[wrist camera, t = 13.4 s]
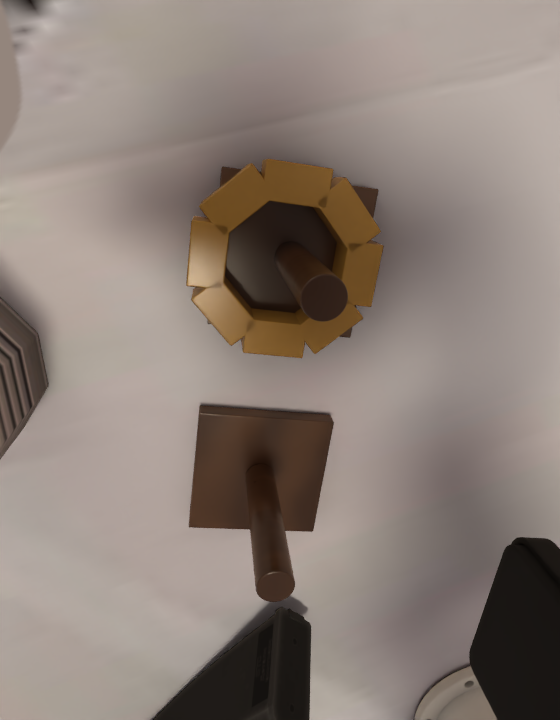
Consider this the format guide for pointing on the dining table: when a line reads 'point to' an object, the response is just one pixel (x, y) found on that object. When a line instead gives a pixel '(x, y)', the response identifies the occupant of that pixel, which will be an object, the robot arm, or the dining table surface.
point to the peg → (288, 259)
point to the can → (18, 374)
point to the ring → (238, 203)
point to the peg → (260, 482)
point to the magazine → (254, 677)
